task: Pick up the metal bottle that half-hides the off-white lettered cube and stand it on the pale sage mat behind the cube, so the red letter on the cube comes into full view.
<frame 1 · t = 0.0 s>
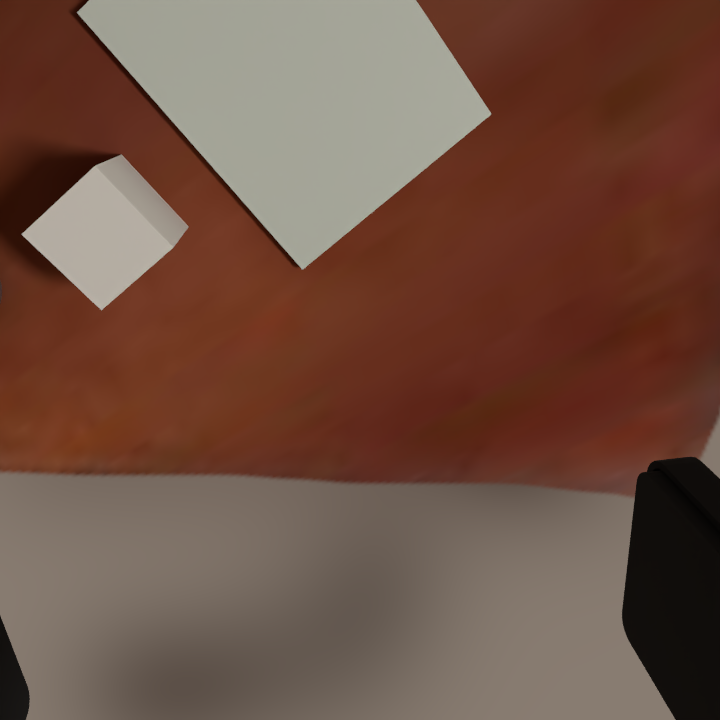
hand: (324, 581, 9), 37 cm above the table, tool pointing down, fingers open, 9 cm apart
sage mat: (295, 66, 41), on the table
lettered cube: (123, 220, 43), on the table
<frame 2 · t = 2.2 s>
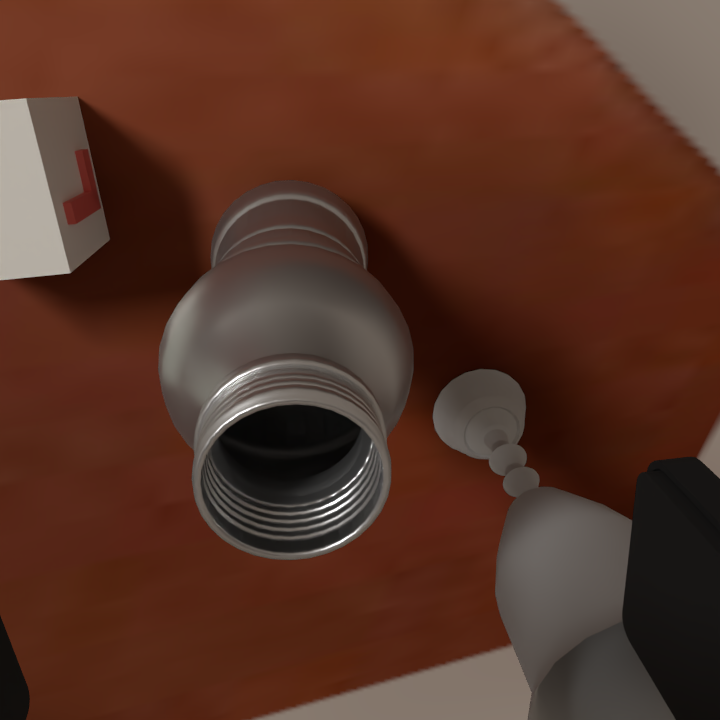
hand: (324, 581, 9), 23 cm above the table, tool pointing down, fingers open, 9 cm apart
chalice: (478, 410, 35), on the table
metal bottle: (289, 243, 31), on the table
lettered cube: (24, 177, 28), on the table
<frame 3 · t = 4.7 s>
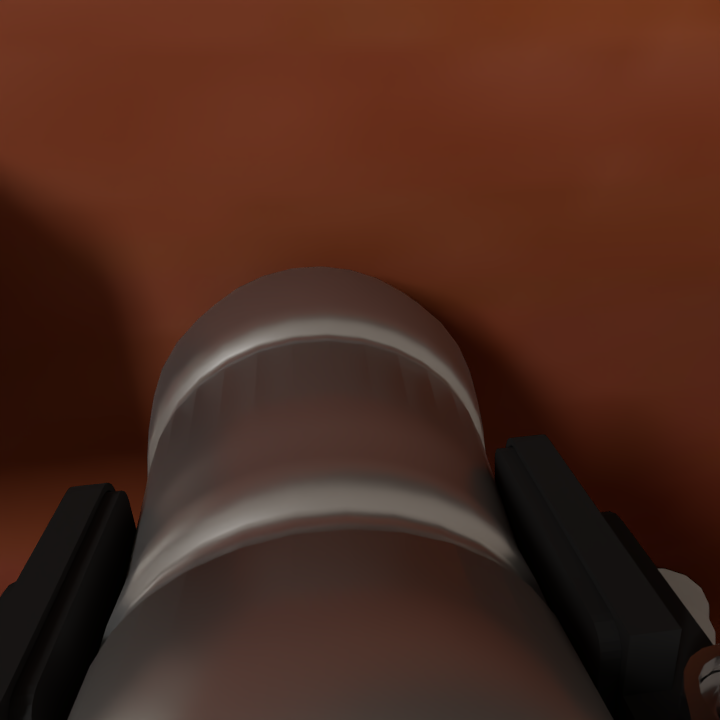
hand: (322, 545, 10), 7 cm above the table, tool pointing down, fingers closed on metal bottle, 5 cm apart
chalice: (627, 626, 21), on the table
metal bottle: (312, 369, 16), on the table, touching gripper
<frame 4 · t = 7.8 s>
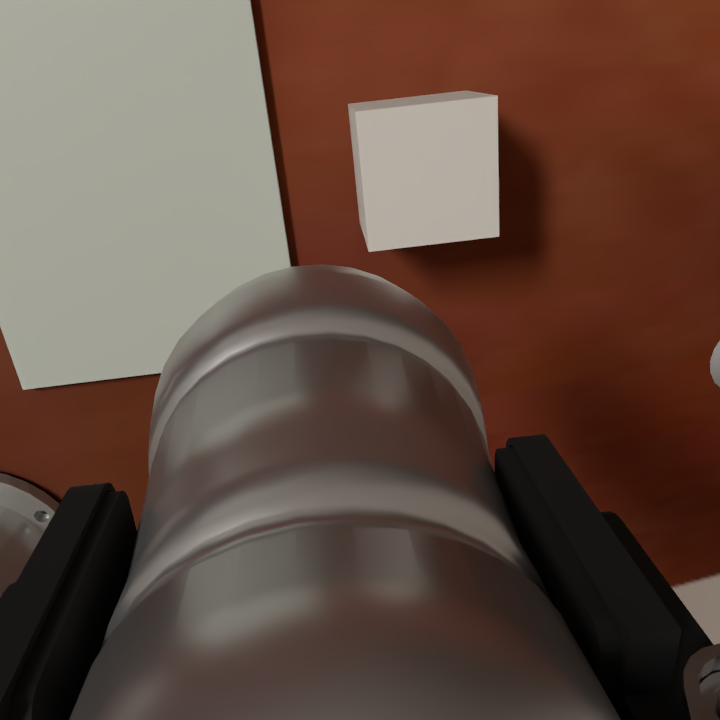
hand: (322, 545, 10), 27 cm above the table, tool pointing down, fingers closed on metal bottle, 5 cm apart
sage mat: (122, 193, 34), on the table
metal bottle: (313, 368, 16), point 20 cm above the table, touching gripper
lettered cube: (411, 159, 34), on the table
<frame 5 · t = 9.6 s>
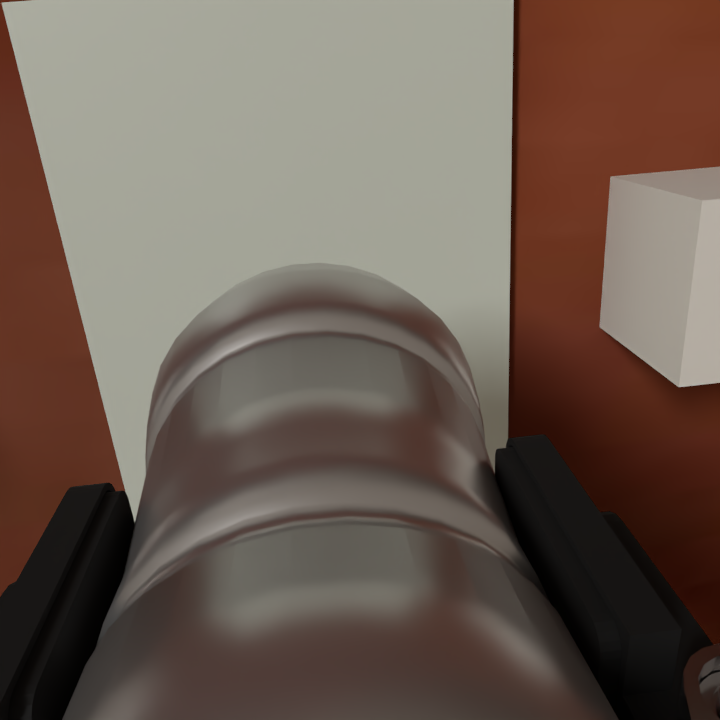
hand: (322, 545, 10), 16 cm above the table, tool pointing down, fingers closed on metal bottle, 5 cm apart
sage mat: (299, 286, 25), on the table
metal bottle: (311, 367, 16), point 9 cm above the table, touching gripper
lettered cube: (677, 247, 26), on the table
when the fingers open (8 cm above the table, at t = 11.1 s): metal bottle drops 1 cm, resting on sage mat.
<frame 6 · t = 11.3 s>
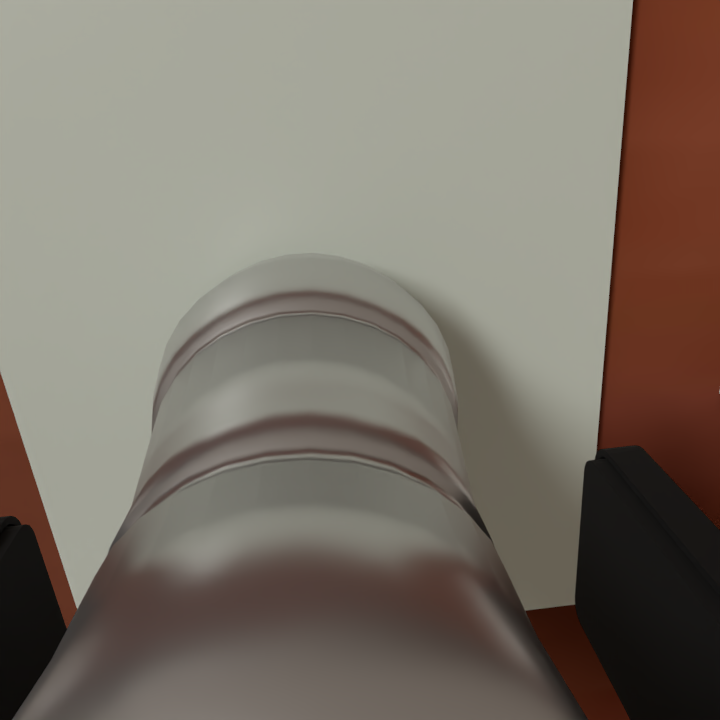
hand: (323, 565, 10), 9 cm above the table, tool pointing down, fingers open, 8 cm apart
sage mat: (312, 342, 18), on the table
metal bottle: (307, 350, 17), resting on sage mat
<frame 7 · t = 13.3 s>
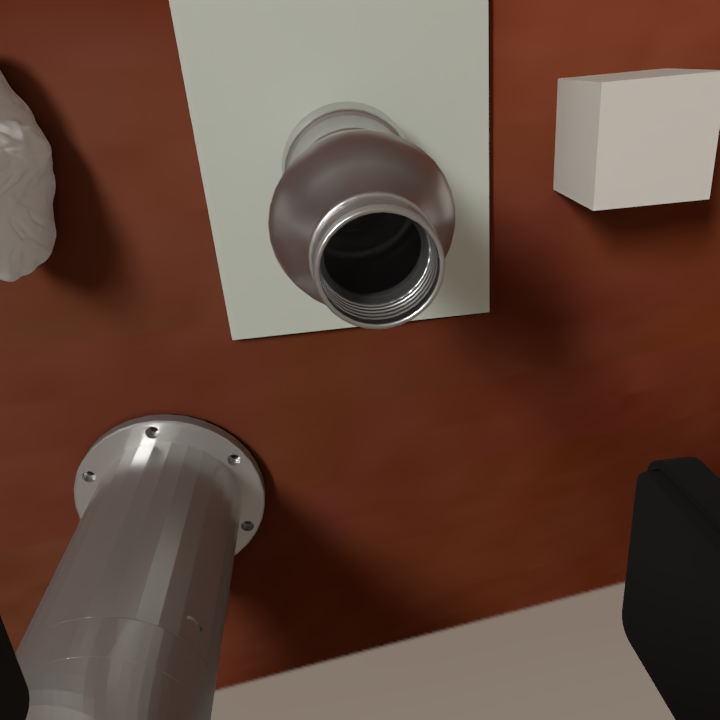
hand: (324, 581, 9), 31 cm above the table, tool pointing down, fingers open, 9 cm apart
sage mat: (345, 157, 37), on the table
metal bottle: (343, 160, 36), resting on sage mat
lettered cube: (607, 130, 37), on the table
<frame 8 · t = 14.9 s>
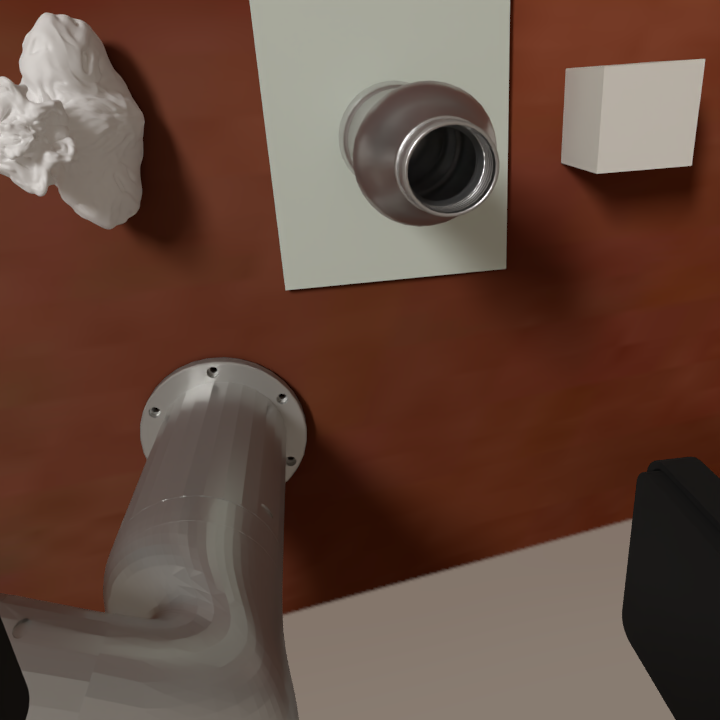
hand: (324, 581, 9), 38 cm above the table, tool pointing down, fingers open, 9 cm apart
sage mat: (387, 132, 44), on the table
metal bottle: (386, 133, 43), resting on sage mat
bust: (92, 124, 42), on the table
lettered cube: (606, 113, 44), on the table
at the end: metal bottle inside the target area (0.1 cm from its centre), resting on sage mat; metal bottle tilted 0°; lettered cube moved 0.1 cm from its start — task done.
